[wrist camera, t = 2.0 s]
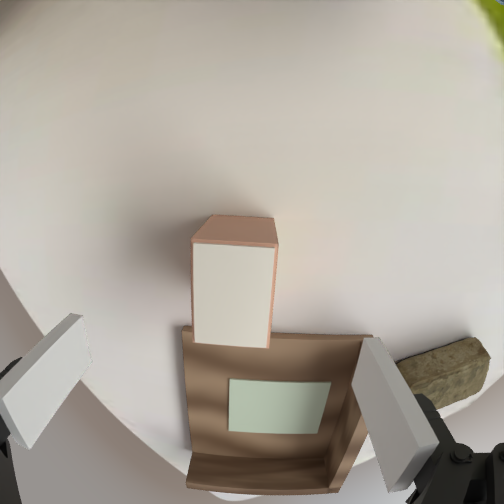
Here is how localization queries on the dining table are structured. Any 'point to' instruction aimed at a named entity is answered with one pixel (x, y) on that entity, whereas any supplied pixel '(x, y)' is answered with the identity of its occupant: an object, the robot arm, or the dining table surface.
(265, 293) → the terracotta block
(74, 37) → the dining table surface
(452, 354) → the stone block
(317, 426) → the sage pad
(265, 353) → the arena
